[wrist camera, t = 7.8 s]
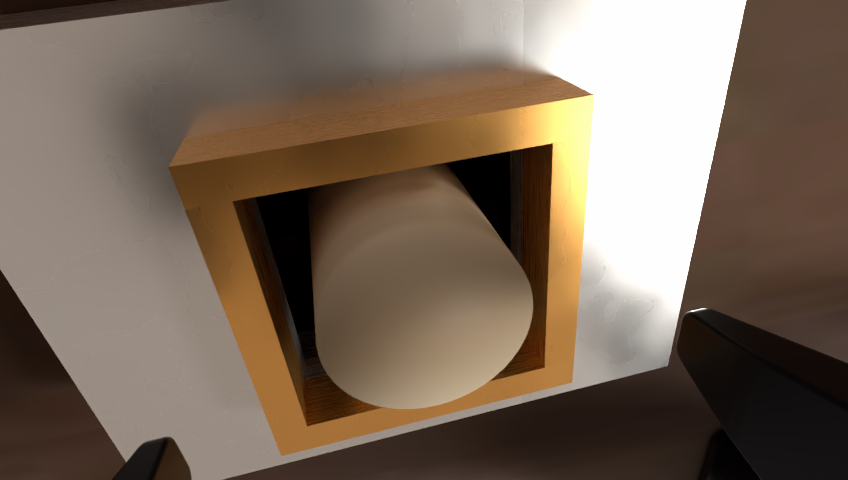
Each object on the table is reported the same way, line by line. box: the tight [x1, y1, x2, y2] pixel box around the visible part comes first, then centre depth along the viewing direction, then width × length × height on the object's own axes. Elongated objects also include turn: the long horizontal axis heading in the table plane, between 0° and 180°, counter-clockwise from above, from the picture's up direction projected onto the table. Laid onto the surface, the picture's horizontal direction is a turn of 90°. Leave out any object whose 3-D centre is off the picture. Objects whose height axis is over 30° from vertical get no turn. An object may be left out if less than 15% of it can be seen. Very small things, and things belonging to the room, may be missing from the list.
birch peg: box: [307, 162, 533, 409], centre depth 13 cm, size 4×4×7 cm
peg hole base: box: [0, 0, 746, 480], centre depth 13 cm, size 12×16×6 cm
